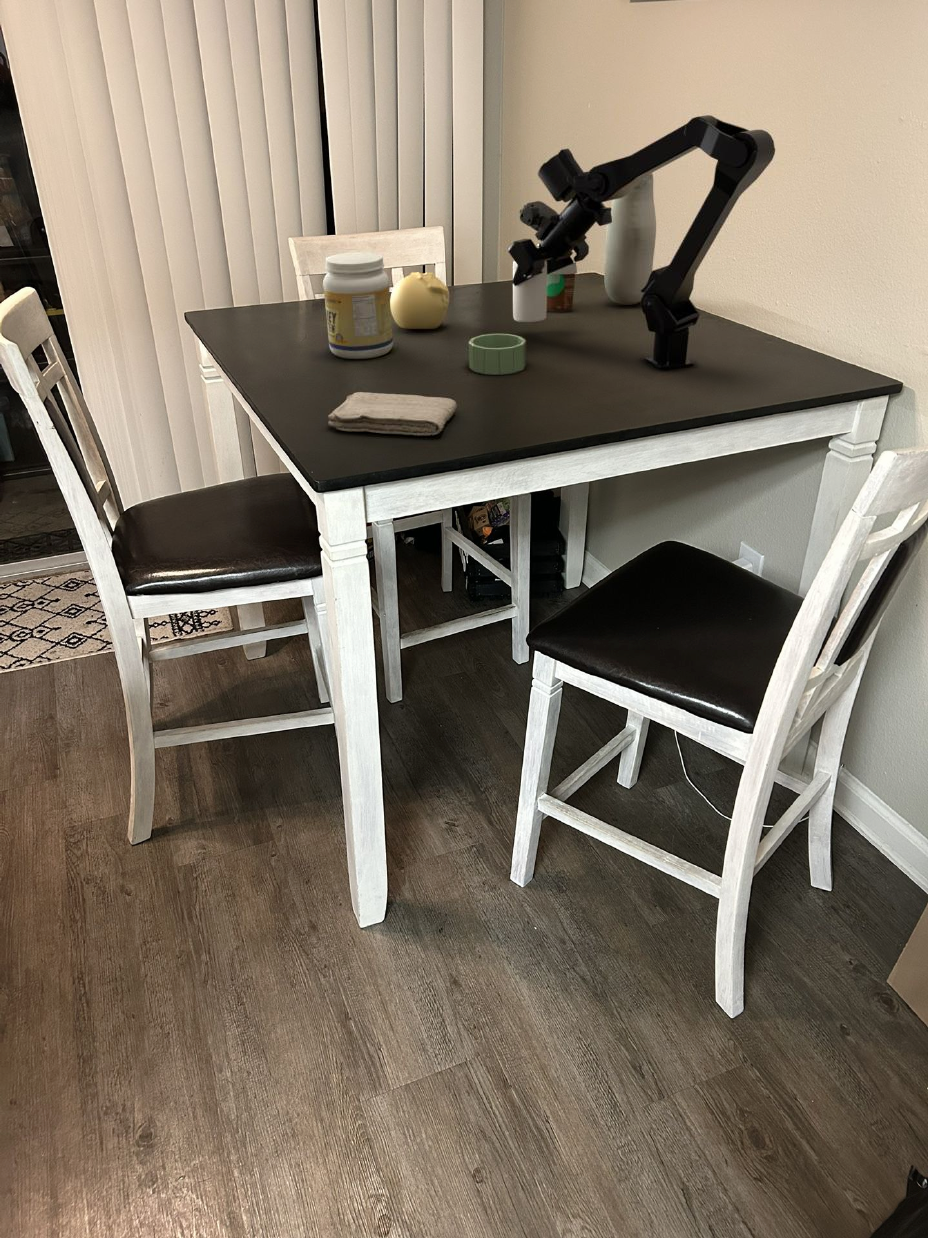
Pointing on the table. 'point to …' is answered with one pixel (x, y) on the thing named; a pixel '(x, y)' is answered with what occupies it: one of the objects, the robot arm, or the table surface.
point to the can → (530, 298)
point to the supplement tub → (358, 305)
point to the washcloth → (393, 414)
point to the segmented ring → (497, 354)
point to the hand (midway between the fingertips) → (524, 280)
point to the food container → (561, 289)
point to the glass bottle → (630, 244)
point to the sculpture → (419, 301)
